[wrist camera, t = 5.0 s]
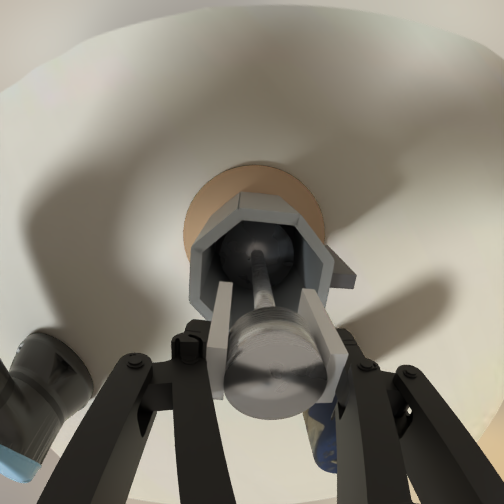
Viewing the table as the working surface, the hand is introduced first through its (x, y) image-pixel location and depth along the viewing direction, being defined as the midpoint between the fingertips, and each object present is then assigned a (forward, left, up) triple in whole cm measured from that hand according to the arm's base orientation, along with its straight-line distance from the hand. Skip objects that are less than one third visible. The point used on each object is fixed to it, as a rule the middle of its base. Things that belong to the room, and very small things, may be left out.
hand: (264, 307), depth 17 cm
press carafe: (0, 0, -18) cm, 18 cm away
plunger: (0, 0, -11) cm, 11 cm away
